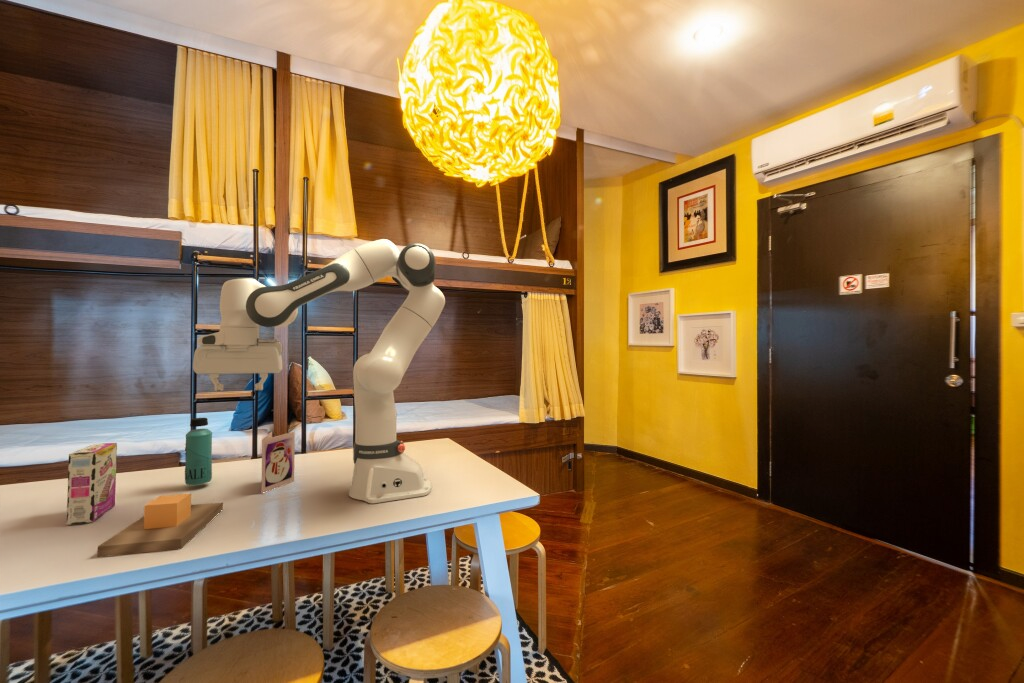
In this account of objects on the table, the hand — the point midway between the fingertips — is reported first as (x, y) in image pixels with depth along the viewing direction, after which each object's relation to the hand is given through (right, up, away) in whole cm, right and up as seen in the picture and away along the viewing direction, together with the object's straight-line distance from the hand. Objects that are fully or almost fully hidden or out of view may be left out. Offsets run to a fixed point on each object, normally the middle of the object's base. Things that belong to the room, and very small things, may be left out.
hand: (239, 390), depth 111 cm
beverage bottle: (-18, -29, +10) cm, 36 cm away
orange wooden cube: (-4, -27, -19) cm, 33 cm away
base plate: (-4, -29, -19) cm, 35 cm away
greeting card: (+2, -29, +11) cm, 31 cm away
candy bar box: (-28, -29, -10) cm, 42 cm away
